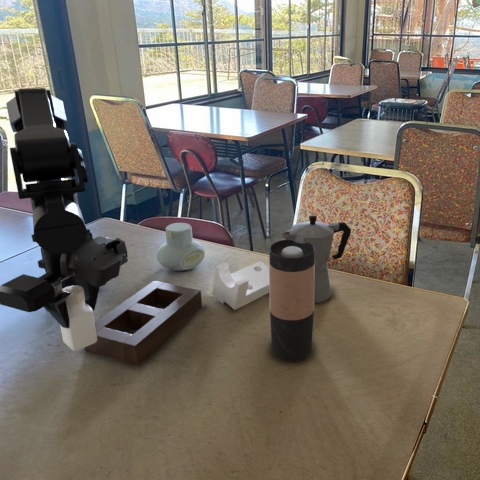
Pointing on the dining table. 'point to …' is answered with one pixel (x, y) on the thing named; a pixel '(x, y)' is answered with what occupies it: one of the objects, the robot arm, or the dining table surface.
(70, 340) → the salt shaker
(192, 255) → the air freshener
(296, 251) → the travel mug
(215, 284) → the bracket
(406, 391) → the dining table surface
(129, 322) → the stand
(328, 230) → the coffeepot
